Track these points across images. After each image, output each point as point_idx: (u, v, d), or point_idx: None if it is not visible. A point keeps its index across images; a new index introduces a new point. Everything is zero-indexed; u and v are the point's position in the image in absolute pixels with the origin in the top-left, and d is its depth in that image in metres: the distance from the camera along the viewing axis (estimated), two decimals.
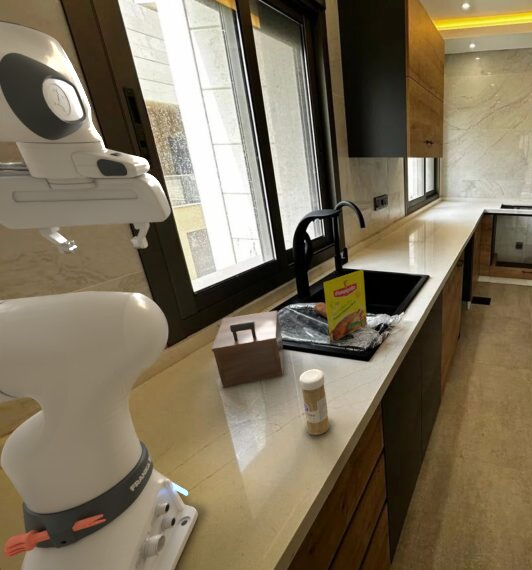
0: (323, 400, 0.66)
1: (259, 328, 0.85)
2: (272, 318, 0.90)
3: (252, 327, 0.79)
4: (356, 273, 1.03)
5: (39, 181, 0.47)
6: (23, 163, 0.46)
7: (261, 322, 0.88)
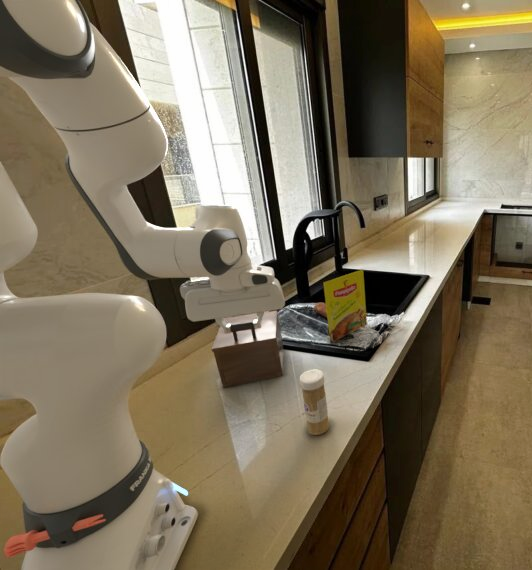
0: (323, 400, 0.66)
1: (259, 328, 0.85)
2: (272, 318, 0.90)
3: (252, 327, 0.79)
4: (356, 273, 1.03)
5: (215, 290, 0.72)
6: (206, 280, 0.72)
7: (261, 322, 0.88)
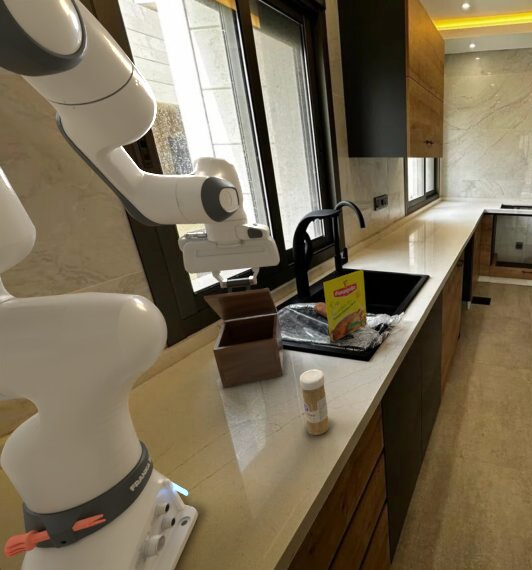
0: (323, 400, 0.66)
1: None
2: None
3: (247, 281, 0.81)
4: (356, 273, 1.03)
5: (212, 243, 0.75)
6: (203, 233, 0.75)
7: None
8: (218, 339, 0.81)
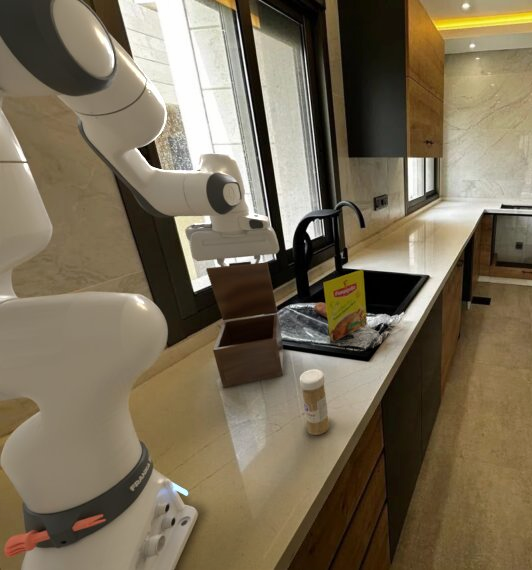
0: (323, 400, 0.66)
1: None
2: None
3: (248, 262, 0.87)
4: (356, 273, 1.03)
5: (216, 233, 0.82)
6: (208, 223, 0.81)
7: None
8: (218, 339, 0.81)
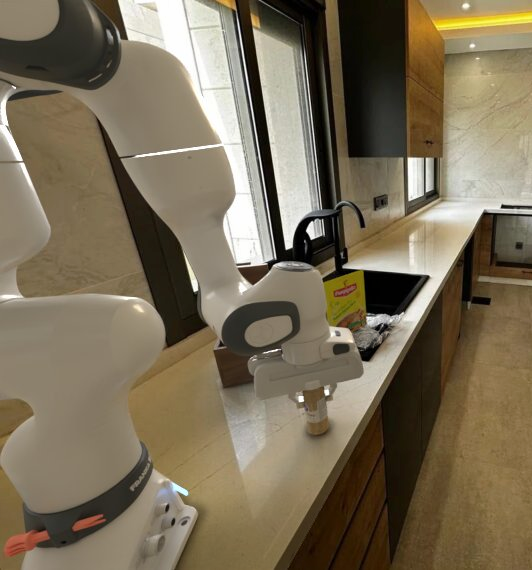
0: (323, 400, 0.66)
1: None
2: None
3: (248, 262, 0.87)
4: (356, 273, 1.03)
5: (289, 364, 0.60)
6: (278, 351, 0.60)
7: None
8: (218, 339, 0.81)
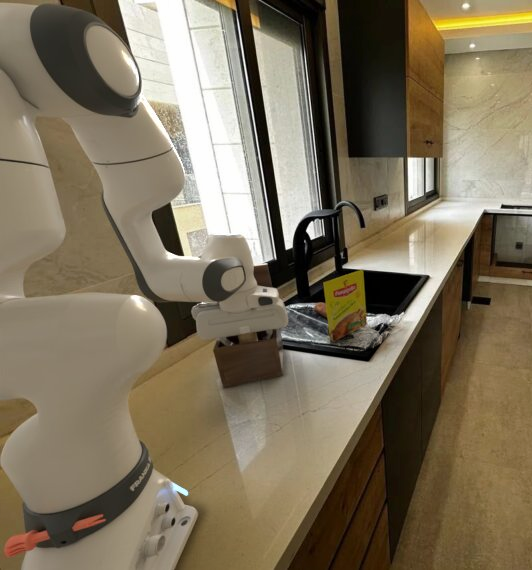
0: None
1: None
2: None
3: None
4: (356, 273, 1.03)
5: (224, 312, 0.78)
6: (215, 302, 0.78)
7: None
8: (218, 339, 0.81)
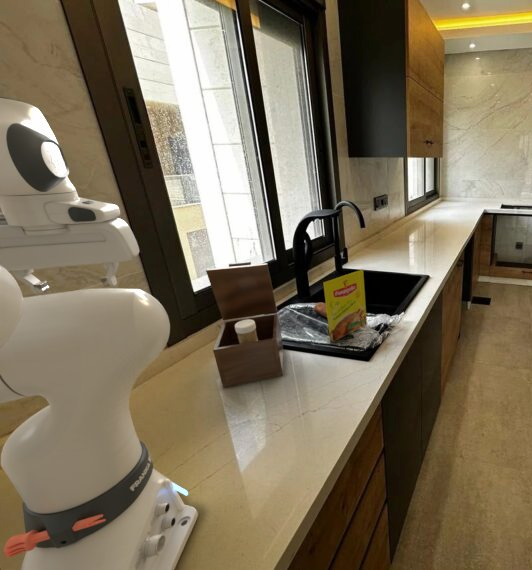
0: None
1: None
2: None
3: (248, 262, 0.87)
4: (356, 273, 1.03)
5: (15, 229, 0.52)
6: (2, 213, 0.52)
7: None
8: (218, 339, 0.81)
